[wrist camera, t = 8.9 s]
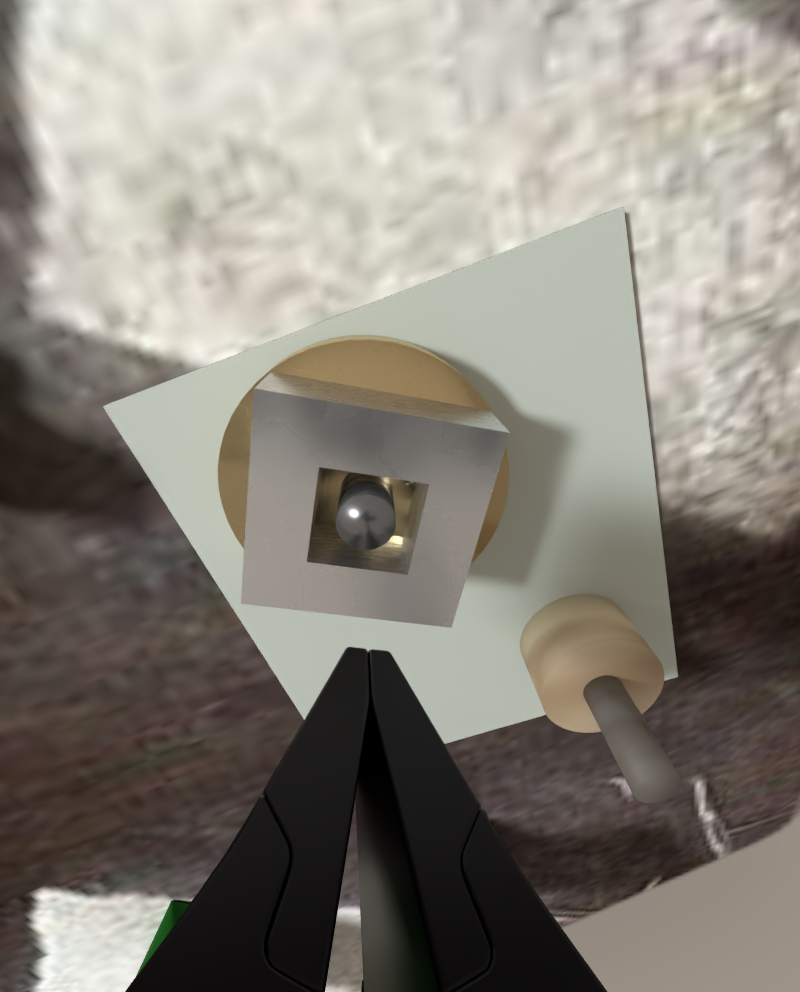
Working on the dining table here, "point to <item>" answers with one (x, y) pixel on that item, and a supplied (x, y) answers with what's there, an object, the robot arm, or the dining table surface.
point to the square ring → (373, 451)
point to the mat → (532, 472)
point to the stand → (601, 684)
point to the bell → (348, 495)
